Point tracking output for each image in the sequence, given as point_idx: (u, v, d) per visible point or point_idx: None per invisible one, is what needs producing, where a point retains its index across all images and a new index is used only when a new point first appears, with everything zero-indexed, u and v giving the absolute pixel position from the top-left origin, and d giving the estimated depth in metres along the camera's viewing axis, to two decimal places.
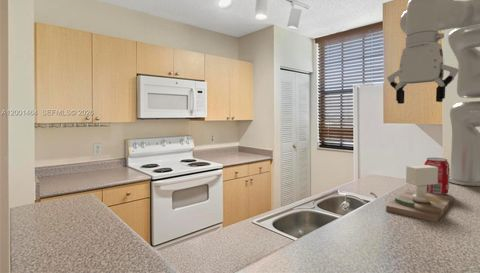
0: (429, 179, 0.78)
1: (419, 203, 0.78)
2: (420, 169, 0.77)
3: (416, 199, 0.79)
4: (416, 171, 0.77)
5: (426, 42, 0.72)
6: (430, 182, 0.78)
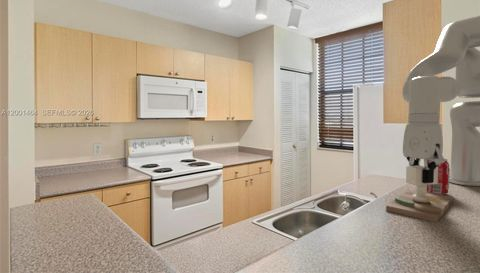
0: None
1: (419, 203, 0.78)
2: (420, 169, 0.77)
3: (416, 199, 0.79)
4: (416, 171, 0.77)
5: None
6: None
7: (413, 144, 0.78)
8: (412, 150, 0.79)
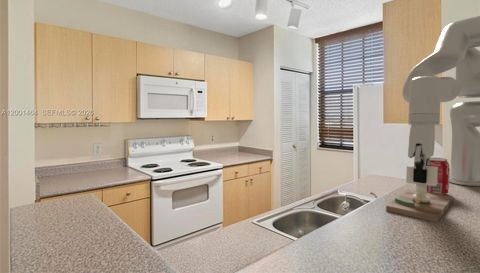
0: None
1: (419, 203, 0.78)
2: (412, 168, 0.79)
3: (412, 197, 0.81)
4: (407, 169, 0.80)
5: None
6: (425, 183, 0.77)
7: None
8: None
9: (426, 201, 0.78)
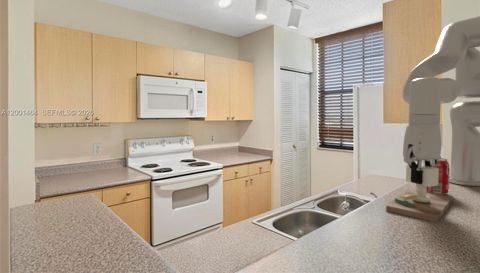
0: None
1: (419, 203, 0.78)
2: None
3: None
4: (406, 168, 0.82)
5: (439, 124, 0.76)
6: None
7: None
8: None
9: (422, 201, 0.78)
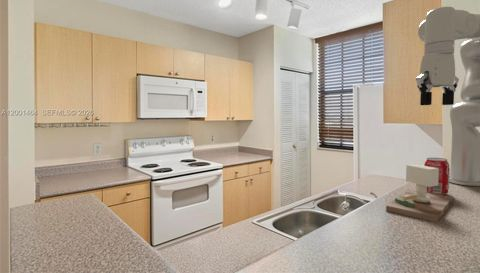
0: (420, 179, 0.78)
1: (419, 203, 0.78)
2: (410, 167, 0.80)
3: None
4: (406, 168, 0.82)
5: (453, 51, 0.81)
6: (421, 182, 0.78)
7: None
8: None
9: (422, 201, 0.78)
